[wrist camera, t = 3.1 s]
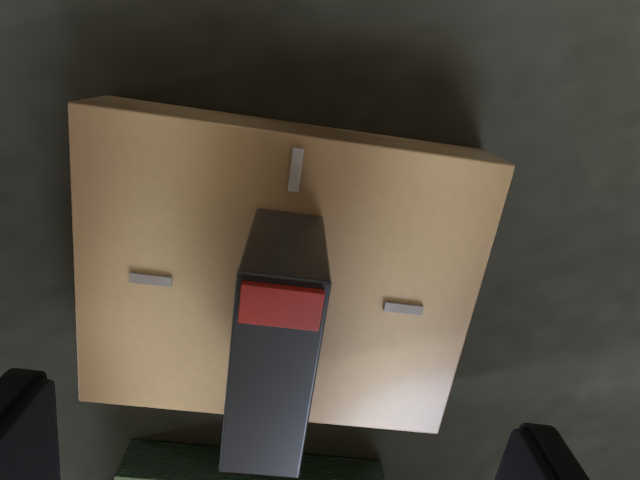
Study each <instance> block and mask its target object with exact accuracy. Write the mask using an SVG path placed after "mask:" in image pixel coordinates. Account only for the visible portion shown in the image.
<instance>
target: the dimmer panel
mask: <svg viewBox="0 0 640 480" xmlns="http://www.w3.org/2000/svg"><path fill="white" fill-rule="evenodd" d="M68 123H69V150H70V177H71V203H72V230H73V256H74V283H75V309H76V336H77V362H78V389H79V401H85V402H96V403H107V404H118V405H128V406H139V407H150V408H161V409H172V410H183V411H193V412H204V413H215V414H224V405H225V394H226V383H227V373H228V362H229V351H230V340H231V329H232V318H233V307H234V296H235V286H236V275H237V270H238V267H239V264H240V261H241V257H242V254H243V251H244V248H245V245H246V241H247V238H248V235H249V232H250V229H251V225H252V222H253V219H254V216H255V213H256V210H257V209H258V208H259V209H267V210H275V211H283V212H291V213H299V214H306V215H314V216H322V217H323V219H324V227H325V235H326V242H327V250H328V258H329V265H330V273H331V281H332V286H331V292H330V298H329V304H328V310H327V315H326V321H325V327H324V333H323V339H322V345H321V351H320V357H319V363H318V369H317V375H316V380H315V386H314V392H313V398H312V404H311V410H310V416H309V422H313V423H323V424H334V425H345V426H356V427H367V428H378V429H388V430H399V431H410V432H421V433H432V434H438V431H439V428H440V424H441V421H442V418H443V414H444V411H445V407H446V404H447V400H448V397H449V393H450V390H451V387H452V383H453V380H454V376H455V373H456V369H457V366H458V362H459V359H460V355H461V352H462V349H463V345H464V342H465V338H466V335H467V331H468V328H469V324H470V321H471V317H472V314H473V311H474V307H475V304H476V300H477V297H478V293H479V290H480V286H481V283H482V279H483V276H484V273H485V269H486V266H487V262H488V259H489V255H490V252H491V248H492V245H493V241H494V238H495V235H496V231H497V228H498V224H499V221H500V217H501V214H502V210H503V207H504V203H505V200H506V197H507V193H508V190H509V186H510V183H511V179H512V176H513V172H514V169H515V165H513V164H511V163H509V162H507V161H505V160H503V159H501V158H499V157H497V156H495V155H493V154H491V153H489V152H487V151H485V150H483V149H478V148H471V147H464V146H457V145H450V144H443V143H436V142H429V141H422V140H415V139H408V138H401V137H394V136H387V135H380V134H373V133H366V132H359V131H353V130H346V129H339V128H332V127H325V126H318V125H311V124H304V123H297V122H290V121H283V120H276V119H269V118H262V117H255V116H248V115H241V114H234V113H227V112H220V111H213V110H206V109H199V108H192V107H185V106H178V105H172V104H165V103H158V102H151V101H144V100H137V99H130V98H123V97H116V96H109V95H106V96H100V97H94V98H88V99H83V100H77V101H71V102H68Z"/></svg>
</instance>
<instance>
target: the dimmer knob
mask: <svg viewBox="0 0 640 480" xmlns="http://www.w3.org/2000/svg"><path fill="white" fill-rule="evenodd" d="M331 286H332V281H331V273H330V265H329V258H328V250H327V242H326V235H325V227H324V219H323V217H322V216H314V215H306V214H299V213H291V212H283V211H275V210H267V209H259V208H258V209H257V210H256V213H255V216H254V219H253V222H252V225H251V229H250V232H249V235H248V238H247V241H246V245H245V248H244V251H243V254H242V257H241V261H240V264H239V267H238V270H237V275H236V286H235V296H234V307H233V318H232V329H231V340H230V351H229V362H228V373H227V383H226V394H225V405H224V416H223V427H222V438H221V449H220V460H219V471H221V472H231V473H243V474H255V475H267V476H279V477H291V478H298V477H299V475H300V469H301V463H302V457H303V451H304V445H305V439H306V434H307V428H308V422H309V416H310V410H311V404H312V398H313V392H314V386H315V380H316V375H317V369H318V363H319V357H320V351H321V345H322V339H323V333H324V327H325V321H326V315H327V310H328V304H329V298H330V292H331Z"/></svg>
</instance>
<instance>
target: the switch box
mask: <svg viewBox="0 0 640 480" xmlns="http://www.w3.org/2000/svg"><path fill="white" fill-rule="evenodd" d="M220 449H221V447H214V446H203V445H191V444H180V443H168V442H157V441H145V440H134V439H132V440H131V441H130V443H129V446H128V448H127V450H126V452H125V454H124V457H123V459H122V461H121V463H120V465H119V468H118V470H117V472H116V474H115V476H114V480H385V479H384V474H383V468H382V463H381V461H376V460H364V459H353V458H341V457H330V456H318V455H307V454H303V457H302V463H301V469H300V475H299V477H298V478H291V477H279V476H267V475H255V474H243V473H231V472H221V471H219V460H220Z"/></svg>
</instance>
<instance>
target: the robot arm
mask: <svg viewBox="0 0 640 480" xmlns="http://www.w3.org/2000/svg"><path fill="white" fill-rule="evenodd" d="M0 480H61V479H60V462H59V446H58V430H57V414H56V397H55V384H54V382H53V380H49V379H47V376H46V374H45V372H43V371H38V370H28V369H19V368H12V369H9V370H8V371H7V372H5V373H4V374H3V375H2V377H1V378H0ZM494 480H590V479H589V478H588V476H587V475H586V473H585V472H584V470H583V469H582V467H581V466H580V464H579V463H578V461H577V460H576V458H575V457H574V455H573V454H572V452H571V451H570V449H569V448H568V446H567V445H566V443H565V442H564V440H563V439H562V437H561V436H560V434H559V433H558V431H557V430H556V429H555V428H554V427H553V426H550V425H541V424H532V423H523V424H522V425H521V426H520V427H519V429H514V430H513V431H512V433H511V435H510V438H509V441H508V443H507V446H506V449H505V452H504V454H503V457H502V460H501V463H500V466H499V468H498V471H497V474H496V477H495V479H494Z"/></svg>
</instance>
